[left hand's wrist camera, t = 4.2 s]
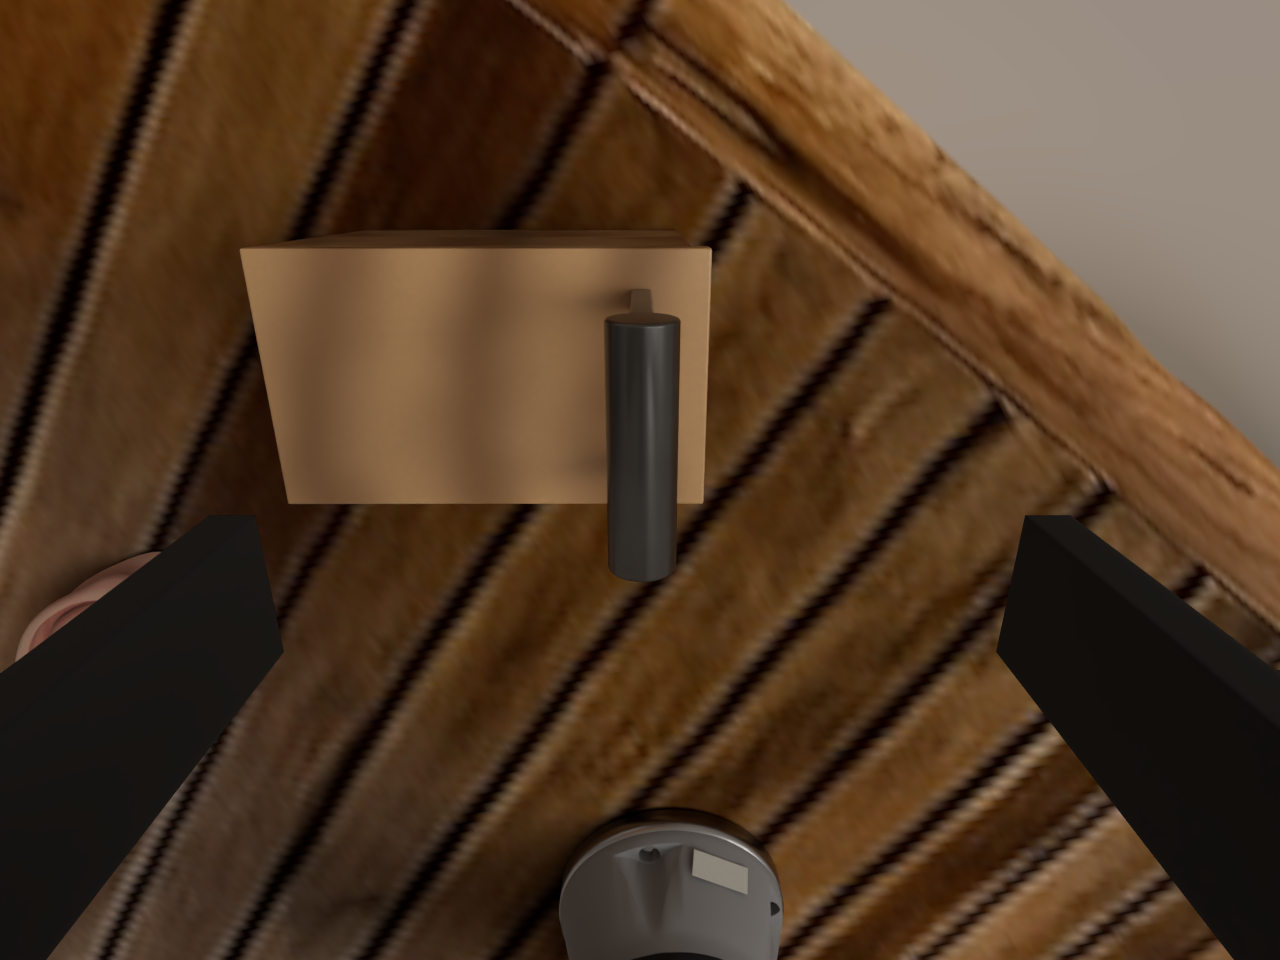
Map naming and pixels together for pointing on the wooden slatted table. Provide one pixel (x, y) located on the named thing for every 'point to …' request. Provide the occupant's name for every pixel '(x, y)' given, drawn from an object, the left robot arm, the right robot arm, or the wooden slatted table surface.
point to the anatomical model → (77, 602)
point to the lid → (492, 379)
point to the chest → (491, 238)
